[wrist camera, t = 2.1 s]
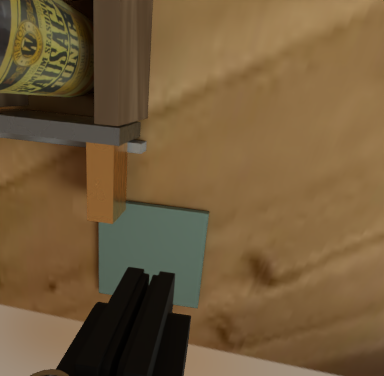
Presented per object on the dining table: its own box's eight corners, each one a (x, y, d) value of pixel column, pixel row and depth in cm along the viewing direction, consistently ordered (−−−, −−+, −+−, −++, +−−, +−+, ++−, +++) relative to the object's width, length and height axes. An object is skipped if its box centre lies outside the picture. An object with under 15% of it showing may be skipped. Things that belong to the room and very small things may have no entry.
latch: (140, 121, 25) (119, 128, 20) (137, 203, 27) (117, 226, 22) (15, 108, 26) (-33, 111, 21) (22, 188, 28) (-20, 207, 23)
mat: (209, 211, 27) (208, 214, 26) (198, 304, 30) (197, 308, 29) (101, 197, 28) (98, 199, 27) (101, 289, 31) (98, 292, 30)
